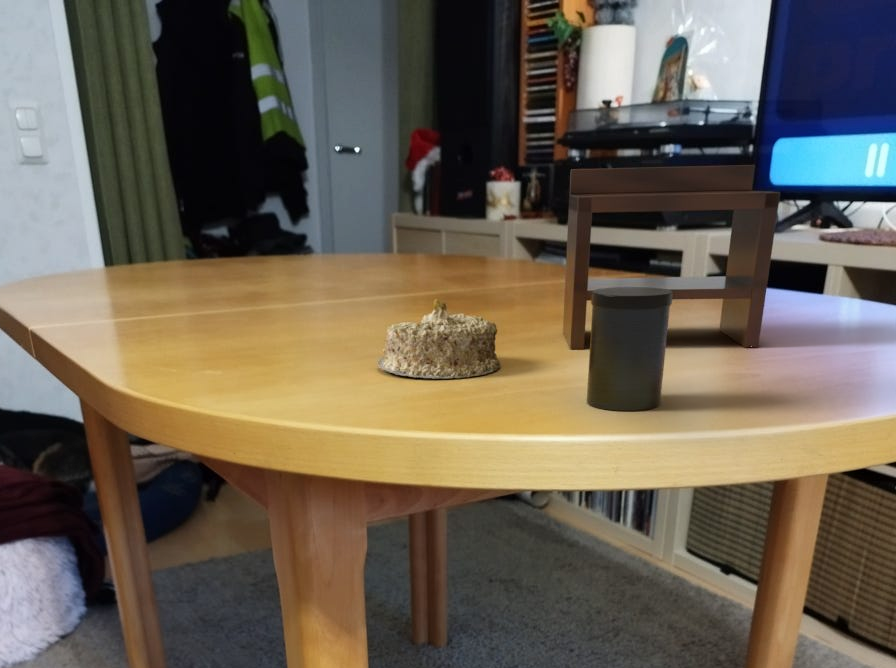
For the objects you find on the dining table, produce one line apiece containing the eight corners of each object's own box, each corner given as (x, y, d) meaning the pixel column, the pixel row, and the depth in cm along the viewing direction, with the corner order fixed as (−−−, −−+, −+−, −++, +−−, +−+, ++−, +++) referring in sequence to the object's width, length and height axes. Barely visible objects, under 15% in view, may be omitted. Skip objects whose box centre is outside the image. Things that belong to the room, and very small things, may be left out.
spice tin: (655, 394, 63) (665, 286, 60) (667, 411, 59) (679, 295, 56) (582, 395, 64) (588, 287, 61) (588, 411, 59) (595, 296, 56)
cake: (515, 366, 77) (522, 298, 74) (476, 392, 68) (483, 316, 66) (405, 350, 80) (408, 284, 77) (355, 373, 71) (357, 301, 69)
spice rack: (731, 330, 88) (752, 165, 82) (758, 347, 79) (784, 164, 73) (562, 331, 89) (570, 169, 83) (570, 349, 80) (579, 168, 74)
